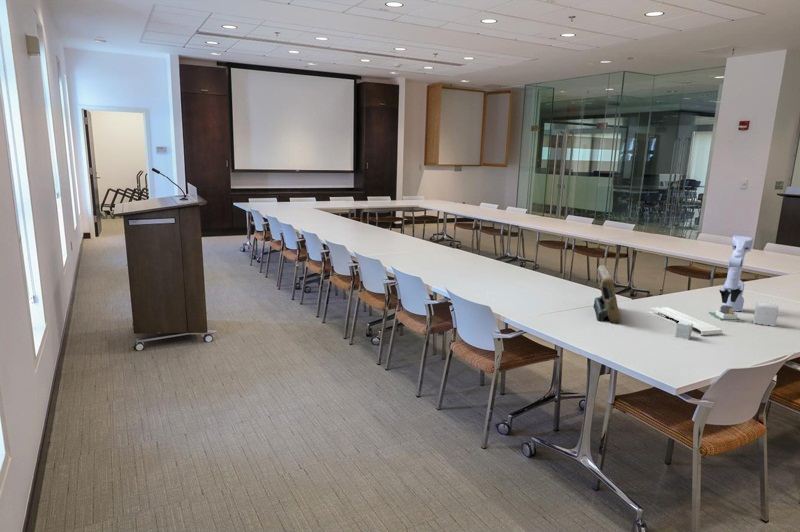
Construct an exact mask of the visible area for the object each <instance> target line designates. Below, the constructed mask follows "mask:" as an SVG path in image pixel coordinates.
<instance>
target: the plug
mask: <svg viewBox="0 0 800 532" xmlns="http://www.w3.org/2000/svg"><path fill="white" fill-rule="evenodd" d="M720 307H721V308H720V310H721V311H720V312H722V313H724V314H732V312H733V311H732V310H733V307H731V306H728V305H723V304H722V305H720Z"/></svg>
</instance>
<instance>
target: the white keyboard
mask: <svg viewBox="0 0 800 532" xmlns="http://www.w3.org/2000/svg"><path fill="white" fill-rule="evenodd" d="M649 309H650V310H653V311H648V313H649V314H651V315H653V316H655V315H656V316H655V317H657V316H658V318H660V319H662V317H664V316H667V317H671V318H673V319H675V320H677V321H680V320H681V321H686V322H690V323H693V327H692V328H695V329H697V330H699V332H700V334H699V337H701V336H714V335H715V336H718V335H722V334H723V330H722V329H721V328H720V327H718V326H715V325H713V324H710V323H707V322H705V321H702V320H699V319H697V318H695V317H693V316H690V315H688V314H685V313H683V312H681V311H678V310H676V309H673V308H670V307H668V306H662V307H650V308H649ZM657 313H659V314H657ZM660 314H661V315H660ZM662 315H664V316H662ZM664 318H666V317H664ZM675 320H674V321H675ZM677 321H676V322H677ZM717 334H718V335H717Z"/></svg>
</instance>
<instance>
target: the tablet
mask: <svg viewBox="0 0 800 532" xmlns="http://www.w3.org/2000/svg"><path fill="white" fill-rule="evenodd" d="M596 271H597V276H596V277H597V283H598V286H599V290H600V292H601V295H600V296H597V297H595V298H594V304H593V305H592V307H593V310H594V312H595V316H596V320H597V321H599V322H604V321H605V318H606V317H607V319H608V320H609V322H610V323H612V324H614V323H619V324H620V321H621V314H620V310H619V307H618V300H617V296H616V288H615V284H614V280H613V278H612V275H611V274H610V272H609V269H608V268H607V266H606V265H604V264H602V265H599V266H598V267H597V270H596Z"/></svg>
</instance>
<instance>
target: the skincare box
mask: <svg viewBox="0 0 800 532" xmlns="http://www.w3.org/2000/svg"><path fill="white" fill-rule="evenodd" d="M693 328H694V327H693V323H690V322H686V321H681V320H680V321H679V322H678V323H677V324H676V328H675V335H674V337H676V338H679V339H683V340H687V341H688V340H689V339H690V338H691V337H692V331H693Z"/></svg>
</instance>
